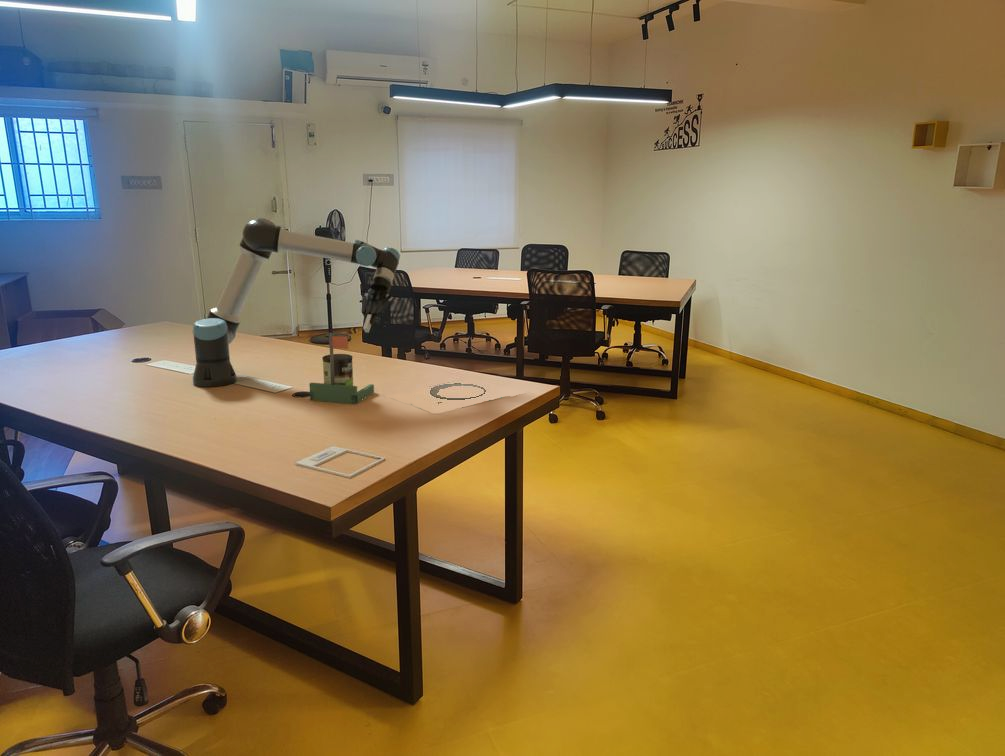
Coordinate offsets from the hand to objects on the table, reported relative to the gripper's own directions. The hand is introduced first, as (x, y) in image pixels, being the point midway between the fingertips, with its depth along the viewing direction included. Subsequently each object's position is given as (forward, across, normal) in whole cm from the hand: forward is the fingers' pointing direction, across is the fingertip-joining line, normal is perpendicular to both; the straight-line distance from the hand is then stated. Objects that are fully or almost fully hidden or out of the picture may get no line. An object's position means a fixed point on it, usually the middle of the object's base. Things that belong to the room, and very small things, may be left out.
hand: (365, 330), depth 251 cm
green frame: (+29, 0, +1) cm, 29 cm away
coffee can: (+29, +2, 0) cm, 29 cm away
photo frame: (+71, -28, +42) cm, 87 cm away
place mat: (+20, -39, -9) cm, 45 cm away
